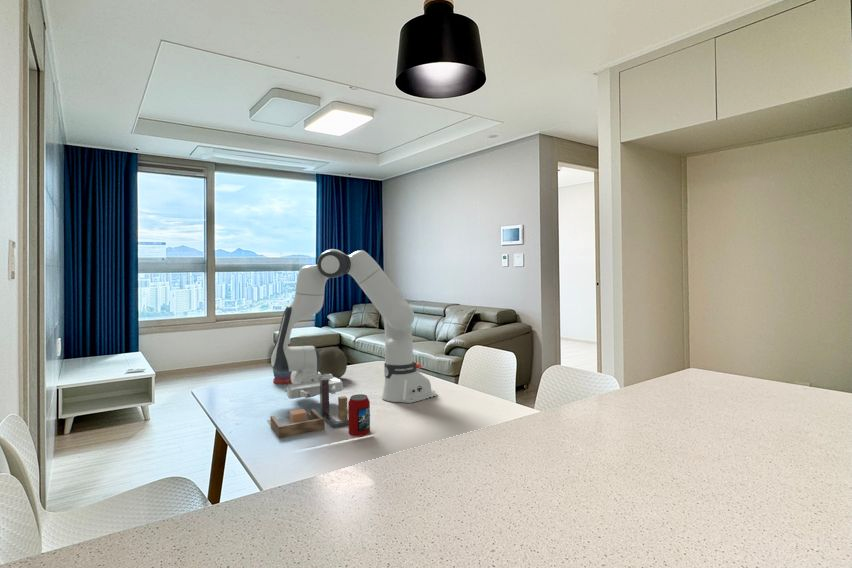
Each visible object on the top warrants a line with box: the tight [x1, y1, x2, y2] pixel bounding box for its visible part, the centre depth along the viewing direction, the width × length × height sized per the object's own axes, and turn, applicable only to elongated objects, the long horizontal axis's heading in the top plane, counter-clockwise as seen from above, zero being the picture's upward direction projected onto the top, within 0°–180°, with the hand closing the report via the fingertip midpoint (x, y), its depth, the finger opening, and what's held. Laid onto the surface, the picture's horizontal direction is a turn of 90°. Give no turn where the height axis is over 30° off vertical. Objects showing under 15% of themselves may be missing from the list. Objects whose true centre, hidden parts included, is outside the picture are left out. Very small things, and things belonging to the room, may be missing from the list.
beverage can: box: [347, 393, 371, 438], centre depth 147 cm, size 7×7×12 cm
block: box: [289, 408, 308, 424], centre depth 154 cm, size 4×4×4 cm
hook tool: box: [319, 378, 349, 429], centre depth 158 cm, size 8×13×14 cm, turn 30°
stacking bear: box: [272, 342, 292, 385], centre depth 213 cm, size 11×10×18 cm
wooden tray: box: [266, 408, 326, 439], centre depth 154 cm, size 14×19×4 cm
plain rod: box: [337, 395, 348, 421], centre depth 160 cm, size 2×2×8 cm
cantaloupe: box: [318, 346, 348, 379], centre depth 216 cm, size 14×14×15 cm
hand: (321, 393), depth 165 cm, fingers open, 8 cm apart
